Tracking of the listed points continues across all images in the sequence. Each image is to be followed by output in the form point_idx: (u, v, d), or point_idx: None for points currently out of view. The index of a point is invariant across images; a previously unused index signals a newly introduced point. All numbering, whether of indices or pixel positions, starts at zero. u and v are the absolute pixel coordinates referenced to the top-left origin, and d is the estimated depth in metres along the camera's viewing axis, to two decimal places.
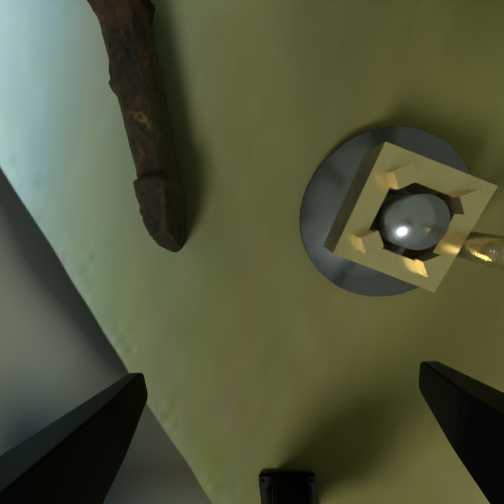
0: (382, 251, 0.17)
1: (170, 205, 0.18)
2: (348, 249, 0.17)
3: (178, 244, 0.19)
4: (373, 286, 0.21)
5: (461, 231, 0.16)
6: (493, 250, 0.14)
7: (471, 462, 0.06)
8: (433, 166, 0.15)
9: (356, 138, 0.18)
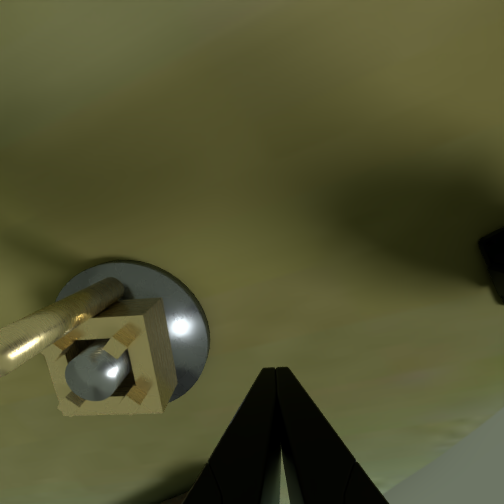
0: (136, 377, 0.17)
1: None
2: (152, 403, 0.17)
3: None
4: (189, 318, 0.19)
5: (81, 326, 0.16)
6: None
7: (284, 464, 0.06)
8: (55, 375, 0.17)
9: None
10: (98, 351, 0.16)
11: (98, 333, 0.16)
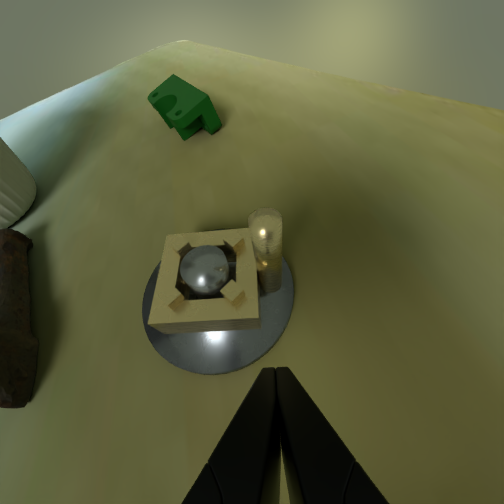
0: (192, 302, 0.17)
1: None
2: (161, 314, 0.17)
3: (6, 392, 0.17)
4: (235, 355, 0.18)
5: (249, 261, 0.19)
6: (254, 253, 0.16)
7: (284, 463, 0.06)
8: (205, 234, 0.21)
9: None
10: (226, 273, 0.18)
11: (241, 274, 0.18)
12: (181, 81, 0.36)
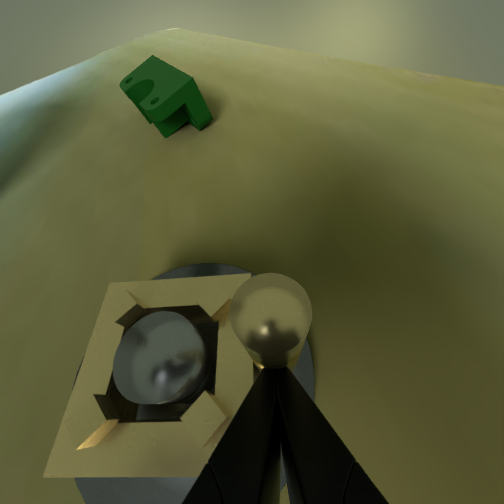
0: (133, 427, 0.09)
1: None
2: (72, 453, 0.09)
3: None
4: None
5: (239, 340, 0.11)
6: None
7: (284, 464, 0.06)
8: (170, 284, 0.13)
9: None
10: (197, 368, 0.10)
11: (225, 367, 0.10)
12: (161, 63, 0.28)
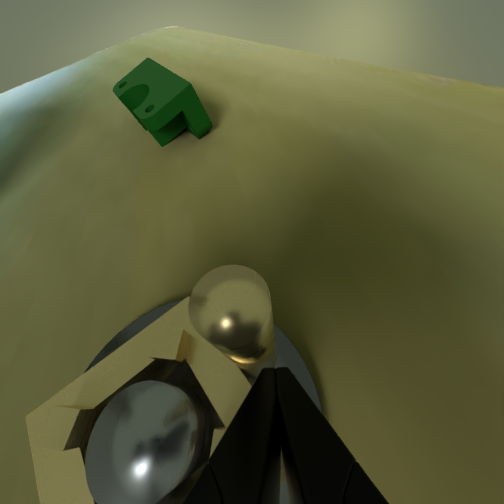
0: None
1: None
2: None
3: None
4: None
5: (216, 360, 0.10)
6: None
7: (284, 464, 0.06)
8: (109, 362, 0.10)
9: (118, 335, 0.15)
10: (189, 458, 0.08)
11: (219, 394, 0.09)
12: (157, 66, 0.26)
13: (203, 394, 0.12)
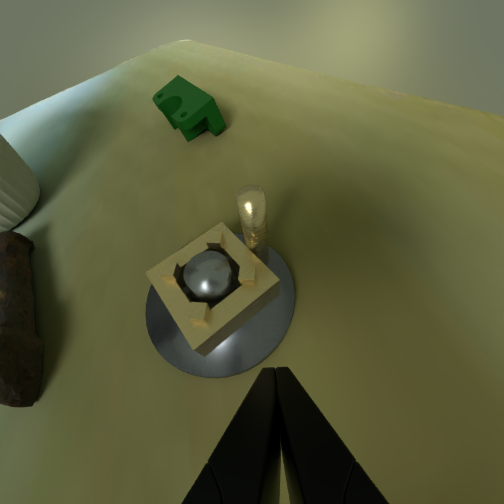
0: (219, 305, 0.17)
1: (6, 347, 0.18)
2: (199, 333, 0.16)
3: (15, 391, 0.18)
4: (237, 359, 0.19)
5: (238, 247, 0.20)
6: (246, 233, 0.18)
7: (284, 464, 0.06)
8: (183, 251, 0.20)
9: None
10: (229, 278, 0.18)
11: (240, 259, 0.19)
12: (186, 82, 0.36)
13: None
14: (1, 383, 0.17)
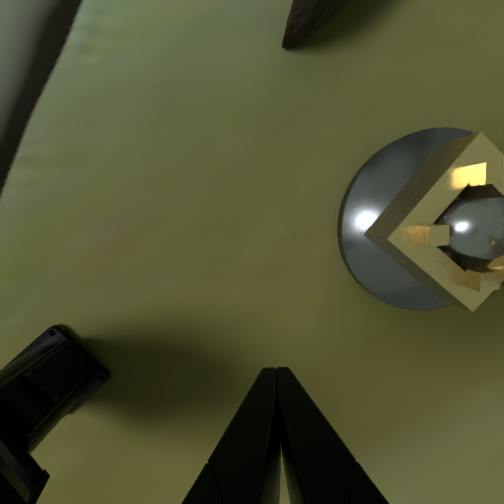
0: (438, 251, 0.15)
1: None
2: (404, 239, 0.15)
3: (303, 22, 0.14)
4: (362, 264, 0.18)
5: None
6: None
7: (284, 464, 0.06)
8: None
9: None
10: (476, 257, 0.14)
11: (499, 261, 0.15)
12: None
13: None
14: None
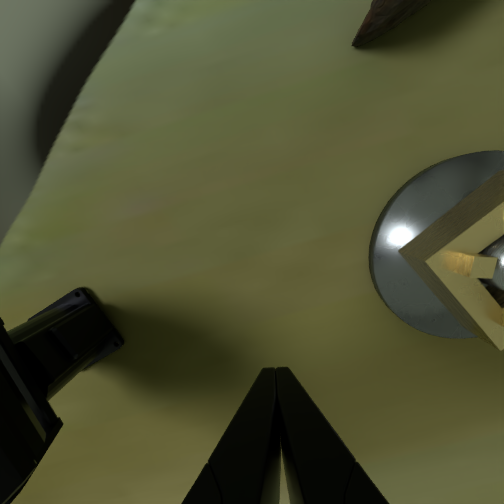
0: (477, 283, 0.14)
1: None
2: (444, 264, 0.14)
3: (383, 21, 0.13)
4: (390, 281, 0.18)
5: None
6: None
7: (284, 464, 0.06)
8: None
9: None
10: None
11: None
12: None
13: None
14: None
